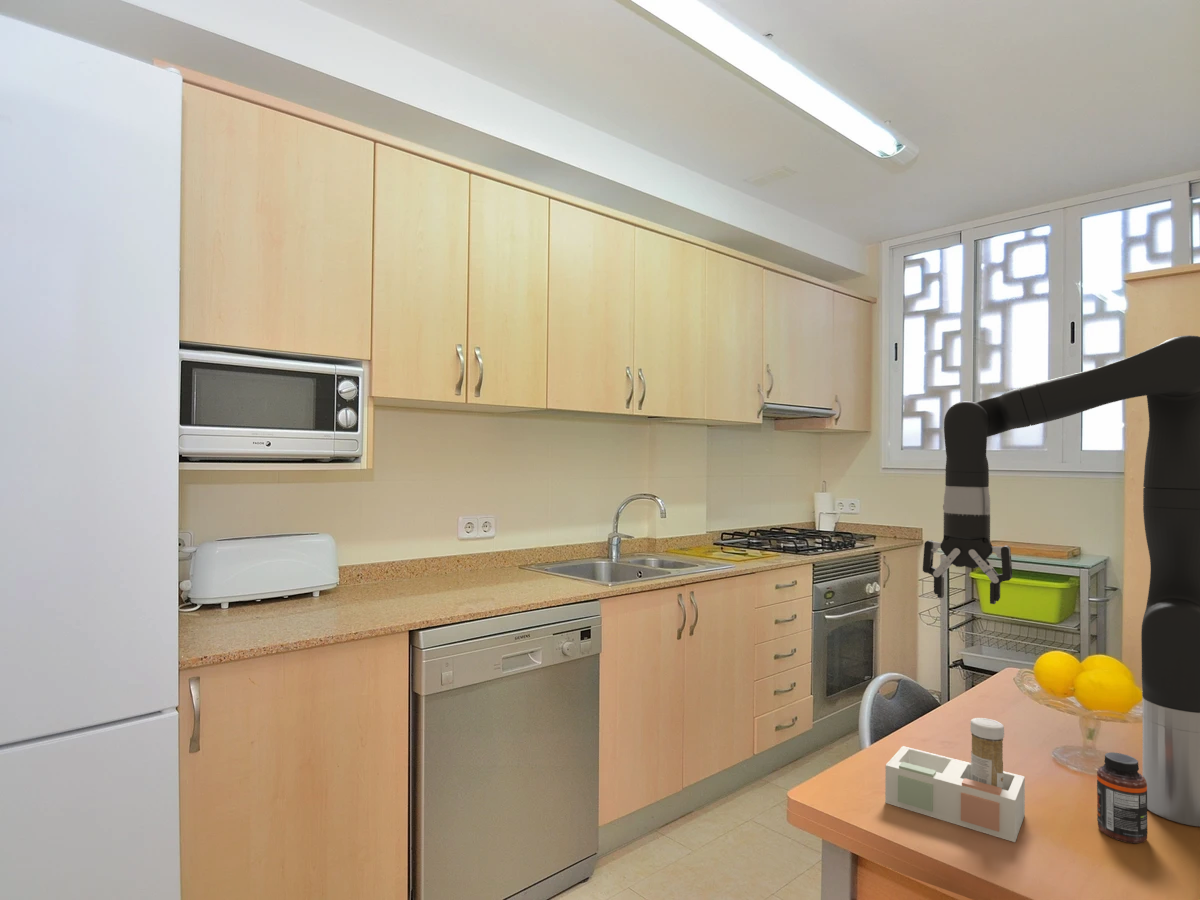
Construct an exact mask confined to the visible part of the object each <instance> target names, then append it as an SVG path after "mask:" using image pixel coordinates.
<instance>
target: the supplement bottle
mask: <svg viewBox="0 0 1200 900" xmlns="http://www.w3.org/2000/svg"><path fill="white" fill-rule="evenodd" d="M1103 763H1104V764H1103V765H1102V766H1100V767H1098V769H1097V772H1096V778H1097V779H1096V795H1097V796H1096V797H1097V798H1096V799H1097V801H1096V802H1097V805H1096V806H1097V807H1096V808H1097V810H1096V811H1097V813H1096V816H1097V818H1096V820H1097V826H1098V828H1099V830H1100V831H1101V832H1102V833H1103V834H1105V835H1107V836H1108V837H1110V838H1113V839H1115V840H1118V841H1121V842H1124V843H1129V844H1139V843H1140V844H1141V843H1144V842H1145V841H1147V839H1148V809H1147V782H1146V779H1145V778H1144V777H1143V774H1141V773H1139V770H1140V768H1139V766H1140V765H1139V760H1137V758H1135V757H1133V756H1131V755H1128V754H1124V753H1120V752H1114V751H1113V752H1111V751H1110V752H1106V753H1105V754H1104V762H1103Z"/></svg>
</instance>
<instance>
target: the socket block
mask: <svg viewBox="0 0 1200 900" xmlns="http://www.w3.org/2000/svg"><path fill="white" fill-rule="evenodd" d="M1025 777H1026V776H1024V775H1020V774H1017V773H1013V772H1008V771H1005V770H1003V789H1002V788H1000V787H996V786H993V785H989V784H985V783H981V782H978V781H974V780H971V762H968V761H964V760H961V759H956V758H953V757H949V756H944V755H941V754H937V753H934V752H933V753H932V752H928V751H925V750H921V749H917V748H913V747H908V746H905V745H902V746H901V747H900V748H899V749H898V750H897V752H896V753H895V754H894V755H893V756H892V757H891V758H890V760H889V761H888V762H886V764H885V780H884V781H885V782H884V783H885V789H884V790H885V792H884V794H885V796H884V797H885V800H884V801H885V802H884V803H885V804H888V805H892V806H895V807H898V808H901V809H905V810H907V811H911V812H915V813H917V814H921V815H925V816H927V817H930V818H933V819H937V820H941V821H943V822H947V823H949V824H953V825H957V826H961V827H964V828H966V829H970V830H974V831H977V832H980V833H982V834H983V833H984V834H987V835H988V836H989V835H990V836H993V837H997V838H999V839H1003V840H1007V841H1010V842H1013V843H1016V841H1017V839H1018V835H1019V832H1020V830H1021V826H1022V825H1023V821H1024V818H1025V816H1026V815H1025V813H1026V812H1025V811H1026V809H1025V808H1026V807H1025V806H1026V804H1025V803H1026V802H1025V801H1026V795H1025V794H1026V791H1025V787H1026V786H1025V783H1026V780H1025Z"/></svg>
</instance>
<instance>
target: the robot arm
mask: <svg viewBox="0 0 1200 900" xmlns="http://www.w3.org/2000/svg"><path fill="white" fill-rule="evenodd" d="M1144 396H1146V399H1147V400H1146V401H1147V402H1146V403H1147V410H1148V412H1147V413H1148V427H1149V428H1148V436H1147V443H1146V444H1147V445H1146V452H1145V460H1144V471H1143V474H1144V476H1143V486H1142V487H1143V489H1142V491H1143V492H1142V493H1143V494H1142V498H1143V499H1142V502H1143V503H1142V505H1143V509H1142V511H1143V512H1142V513H1143V522H1144V523H1143V524H1144V530H1145V531H1144V533H1145V537H1146V538H1145V539H1146V545H1147V550H1148V555H1149V562H1150V575H1149V576H1150V577H1149V585H1148V593H1147V600H1146V601H1147V602H1146V607H1145V610H1144V614H1143V618H1142V622H1141V635H1140V637H1141V640H1140V641H1141V645H1140V646H1141V687H1142V690H1141V691H1142V692H1141V693H1142V776H1143V777H1144V778H1145V779H1146V782H1147V811H1150V812H1151V813H1153V814H1155V815H1157V816H1159V817H1162V818H1163V819H1166V820H1169V821H1172V822H1176V823H1178V824H1182V825H1187V826H1193V827H1200V336H1198V335H1181V336H1174V337H1172V338H1169V339H1167V340H1164V341H1163V342H1161V343H1160V344H1158V345H1155V346H1153V347H1151V348H1148V349H1145V350H1144V351H1141V352H1139V353H1137V354H1134V355H1132V356H1129V357H1126V358H1124V359H1120V360H1118V361H1114V362H1112V363H1108V364H1106V365H1102V366H1100V367H1095V368H1092V369H1088V370H1084V371H1081V372H1080V371H1079V372H1076V373H1072V374H1067V375H1064V376H1060V377H1056V378H1052V379H1048V380H1043V381H1039V382H1035V383H1032V384H1028V385H1025V386H1020V387H1017V388H1014V389H1011V390H1008V391H1006V392H1004V393H1002V394H1000V395H998V396H995V397H991V398H987V399H983V400H979V401H975V402H973V401H969V400H968V401H967V400H966V401H960V402H957V403H955V404H953V405H951V406H950V407H949V408H948V410H947V411H946V413H945V416H944V419H943V433H944V435H943V436H944V448H945V455H946V461H945V462H946V463H945V483H944V484H945V487H944V495H943V505H942V509H943V510H942V511H943V539H942V541H941V542H939V541H933V540H932V539H929V540H926V541H924V546H923V547H924V548H923V557H922V558H923V560H922V572H923V573H924V574H929V575H931V576H932V577H933V593H934V594H935V595H937V598H939V599H943V598H944V597H945V576H944V575H943V574H944V573H945V572H946V571H947V570H948V569H949V568H951V566H952V565H954V566H955V567H956V568H957V567H958V568H962V567H967V568H970V569H977V568H980V569H981V571H982V572H983V573H984V574H985V575H986V576H987V578H988V579H989V581H991V582H989V605H995V604H996V603H997V602H999V601H1000V599H1001V583H1002V582H1009V581H1010V580H1011V579H1013V567H1012V566H1013V565H1012V553H1011V552H1012V551H1011V546H1010V545H1004V546H993V545H992V543H991V496H990V490H989V488H990V487H989V483H990V478H989V475H990V474H989V473H990V471H989V461H988V458H987V446H988V444H987V442H988V438H989V437H992V436H995V435H998V434H1001V433H1005V432H1009V431H1010V430H1015V429H1016V430H1017V429H1021V428H1027V427H1031V426H1032V427H1033V426H1036V425H1039V424H1045V423H1048V422H1052V421H1056V420H1060V419H1063V418H1067V417H1071V416H1074V415H1076V414H1080V413H1083V412H1086V411H1089V410H1092V409H1095V408H1098V407H1101V406H1104V405H1105V406H1106V405H1109V404H1112V403H1116V402H1119V401H1124V400H1128V399H1133V398H1139V397H1144ZM939 549H941V551H942V552H943V554H944V555H945V556H946V557H945V558H944V559H943V561H942V562H941V563H940V564H939V566H937V568H936V567H934V554H935V553H937V552H938V550H939ZM993 553H994V554H996V557H997V558H998V559H999V560H1000V559H1001V572H1002V573H998V572H997V571H996V570H995V568H994V567H993V565H992V564H991V563H990V561H989V560H988V559H989V557H990V556H991V555H992V554H993Z"/></svg>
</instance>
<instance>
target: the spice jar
mask: <svg viewBox="0 0 1200 900" xmlns="http://www.w3.org/2000/svg"><path fill="white" fill-rule="evenodd" d="M1004 726H1005V725H1004V724H1003V723H1001V722H999V721H997V720H995V719H991V718H985V717H974V718H972V719H970V733H971V752H970V753H971V754H970V756H971V757H970V759H971V760H970V761H971V762H970V763H971V780H974V781H978V782H981V783H985V784H989V785H993V786H996V787H1000V788H1002V789H1003V771H1004V761H1003V759H1004V758H1003V756H1004V755H1003V747H1004V746H1003V745H1004V744H1003V741H1004V738H1005V727H1004Z"/></svg>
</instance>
